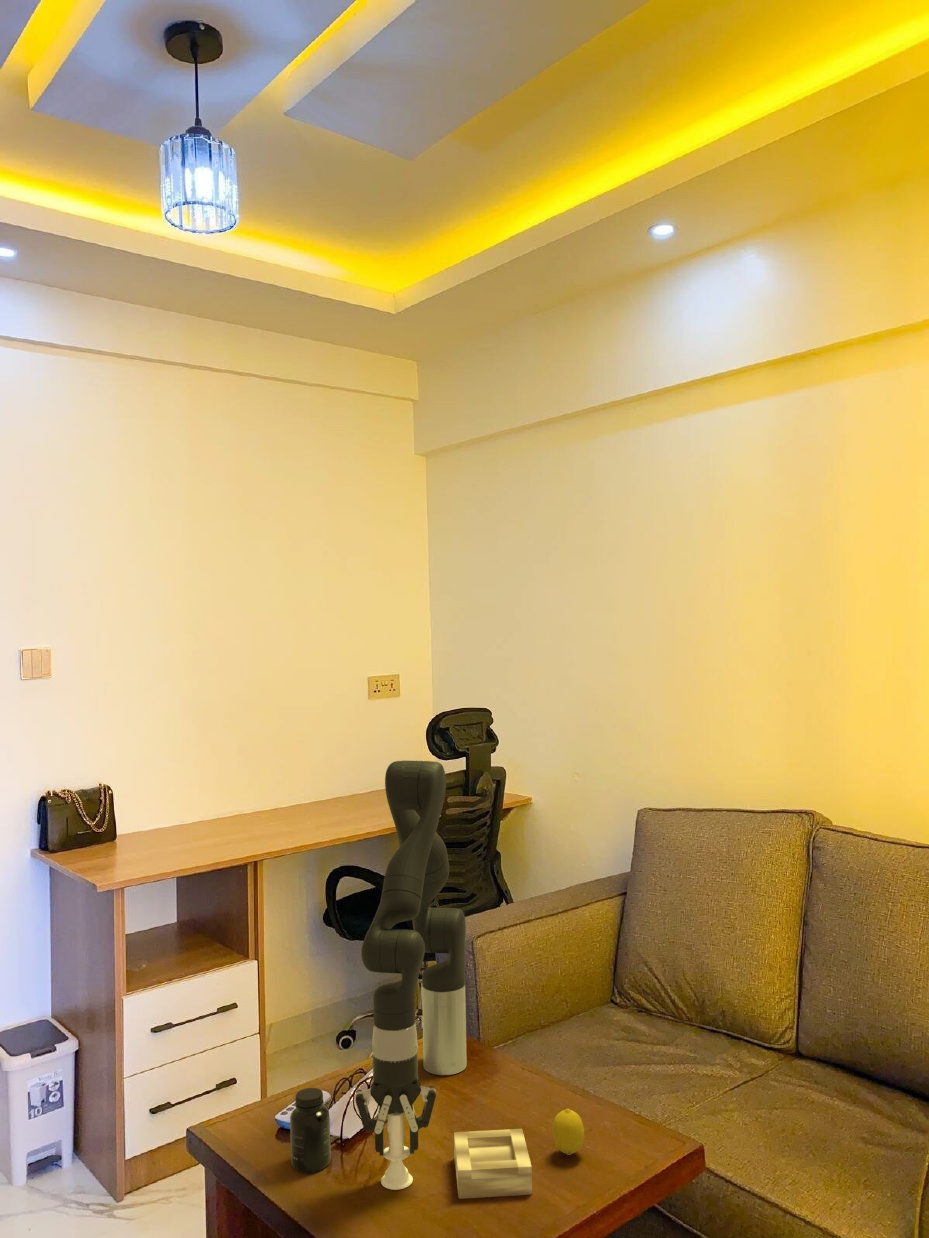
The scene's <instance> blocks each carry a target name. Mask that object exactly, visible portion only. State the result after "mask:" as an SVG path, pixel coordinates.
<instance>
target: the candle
mask: <svg viewBox="0 0 929 1238" xmlns="http://www.w3.org/2000/svg"><path fill="white" fill-rule="evenodd" d="M386 1131H387V1135H388V1136H387V1137H388V1147H384V1156H382V1157H383V1158H385V1160H388V1161H390V1163H389V1165H388V1168H386V1170H385V1172H384V1175H383V1176H382V1177H381V1178H380V1184H381V1185H382V1187H384V1188H386V1189H388V1190H391V1191H392V1190H393V1191H398V1190H403V1189H406V1188H408V1187H410V1186H411V1185H412V1183H413V1181H414V1178H413V1175H412V1174H410V1173H409V1170H408V1168H407V1167H406V1166H405V1165H404V1162H403V1160H405V1159H406V1158H408V1157H409V1156H410V1155H411V1154H410V1147H408V1146H405V1145H404V1144H405V1142H404V1141H405V1139H404V1137H405V1134H404V1133H405V1132H404V1113H399V1112H394V1113H391V1114H387V1123H386Z"/></svg>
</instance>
